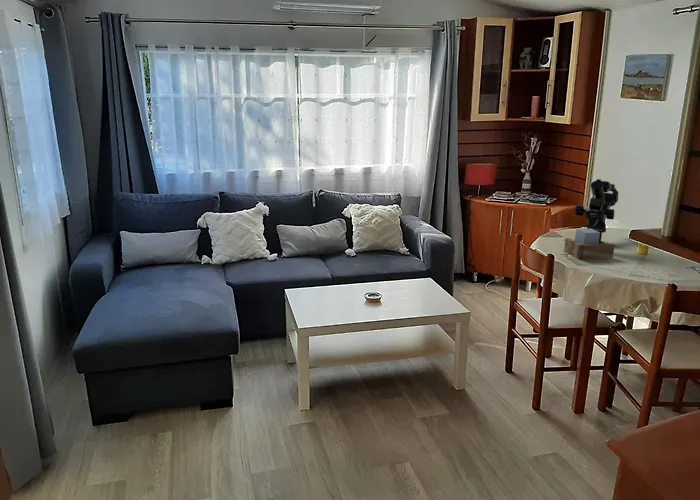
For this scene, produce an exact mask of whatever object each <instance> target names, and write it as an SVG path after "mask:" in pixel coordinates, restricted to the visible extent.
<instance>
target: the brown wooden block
mask: <svg viewBox="0 0 700 500" xmlns="http://www.w3.org/2000/svg"><path fill="white" fill-rule="evenodd" d="M614 251H615V244H614V243H598V244H580V243H578V242H576V241H575V239H572V238H570V237H566V238H565V240H564V248H563V252H565V253H566V254H567V255H570V256H572V257H573V258H576V259H577V260H597V259H599V260H600V259H601V260H602V259H613V257H614Z"/></svg>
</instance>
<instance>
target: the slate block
mask: <svg viewBox="0 0 700 500" xmlns="http://www.w3.org/2000/svg"><path fill="white" fill-rule="evenodd" d="M575 229H576V230H575V235H574V236H575V237H574V241H576V242H578V243H580V244H600V243H599V236H600V232H598V231H595V230H593V229H587V228H575Z"/></svg>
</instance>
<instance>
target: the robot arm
mask: <svg viewBox="0 0 700 500" xmlns="http://www.w3.org/2000/svg"><path fill="white" fill-rule="evenodd" d="M590 188H591V194H592V197H590V200H589V205H588V207H585V206H584V205H576V206H575V207H574V215H575V216H579V217H582V216H584V218H586V219H587V222H586V229H593V230H595V231H598V232H600V236H599V243H598V244H604V241H602V237H603V236H602V235H603V233H606V232H607V224H606V221H605V219H607V220H614V219H615V209H612V208H611V207H613V206H616V204H617V203H618V202H619V191H618V190H617V188H616V184H614V183H610V181H606V180H602V179H601V178H600V179H599V178H598V179H596V180H594V181H592V182H591V183H590ZM610 192H611V193H610Z"/></svg>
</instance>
